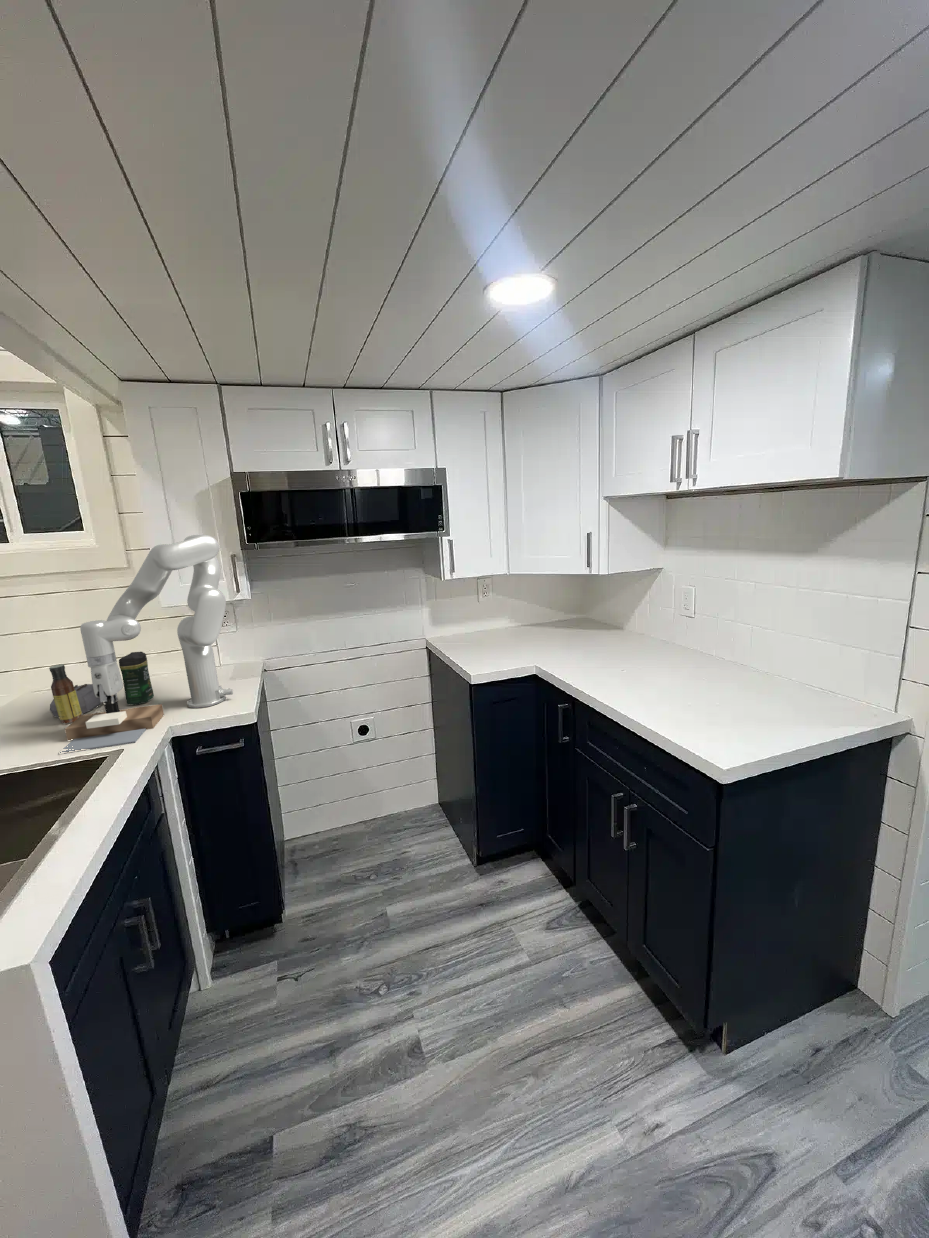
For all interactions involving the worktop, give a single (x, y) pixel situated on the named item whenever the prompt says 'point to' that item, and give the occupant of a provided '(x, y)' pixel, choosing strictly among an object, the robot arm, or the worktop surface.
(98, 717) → the cream tile
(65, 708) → the sauce bottle
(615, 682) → the worktop surface
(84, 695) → the small grey backpack
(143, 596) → the robot arm
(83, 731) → the walnut board
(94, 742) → the grey mat
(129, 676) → the coffee jar
